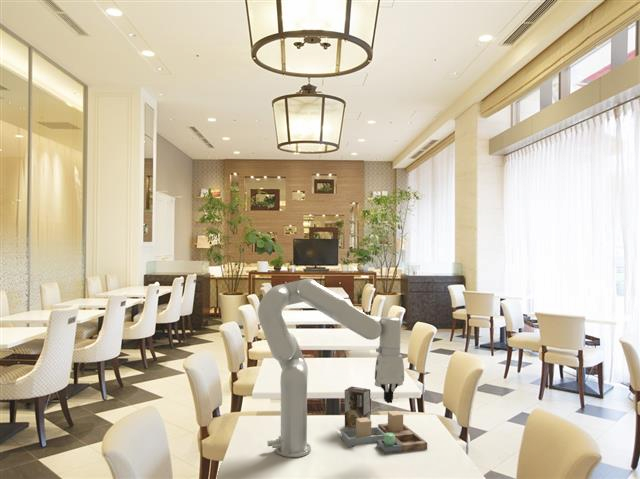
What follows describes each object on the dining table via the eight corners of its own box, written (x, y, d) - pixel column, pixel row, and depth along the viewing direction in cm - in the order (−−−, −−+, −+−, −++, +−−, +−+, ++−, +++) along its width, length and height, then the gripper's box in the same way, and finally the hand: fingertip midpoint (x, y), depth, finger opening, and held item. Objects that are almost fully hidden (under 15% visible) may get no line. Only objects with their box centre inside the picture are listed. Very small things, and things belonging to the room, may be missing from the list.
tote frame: (348, 447, 180) (348, 439, 180) (341, 438, 189) (341, 430, 189) (386, 443, 185) (386, 435, 185) (377, 434, 193) (377, 426, 193)
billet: (360, 443, 184) (360, 422, 184) (356, 439, 188) (356, 418, 188) (371, 442, 185) (371, 421, 185) (366, 438, 189) (367, 417, 190)
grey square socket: (384, 456, 173) (384, 447, 173) (376, 448, 180) (376, 440, 180) (402, 453, 175) (402, 445, 175) (394, 446, 181) (394, 438, 182)
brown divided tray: (402, 453, 175) (402, 445, 175) (378, 431, 196) (378, 424, 196) (427, 451, 178) (427, 442, 178) (400, 429, 199) (400, 422, 199)
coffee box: (371, 429, 199) (371, 389, 199) (363, 433, 194) (364, 393, 194) (351, 424, 204) (351, 385, 204) (343, 429, 198) (344, 389, 199)
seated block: (392, 436, 189) (392, 415, 189) (387, 432, 194) (387, 411, 194) (403, 435, 190) (403, 414, 191) (398, 431, 195) (398, 410, 195)
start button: (386, 451, 175) (386, 437, 175) (381, 447, 179) (382, 433, 179) (396, 450, 176) (396, 436, 176) (391, 445, 180) (392, 432, 180)
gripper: (374, 354, 172) (373, 406, 172) (412, 352, 176) (411, 403, 176) (366, 349, 179) (365, 399, 179) (403, 348, 184) (402, 397, 183)
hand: (388, 401), depth 178 cm, fingers closed
